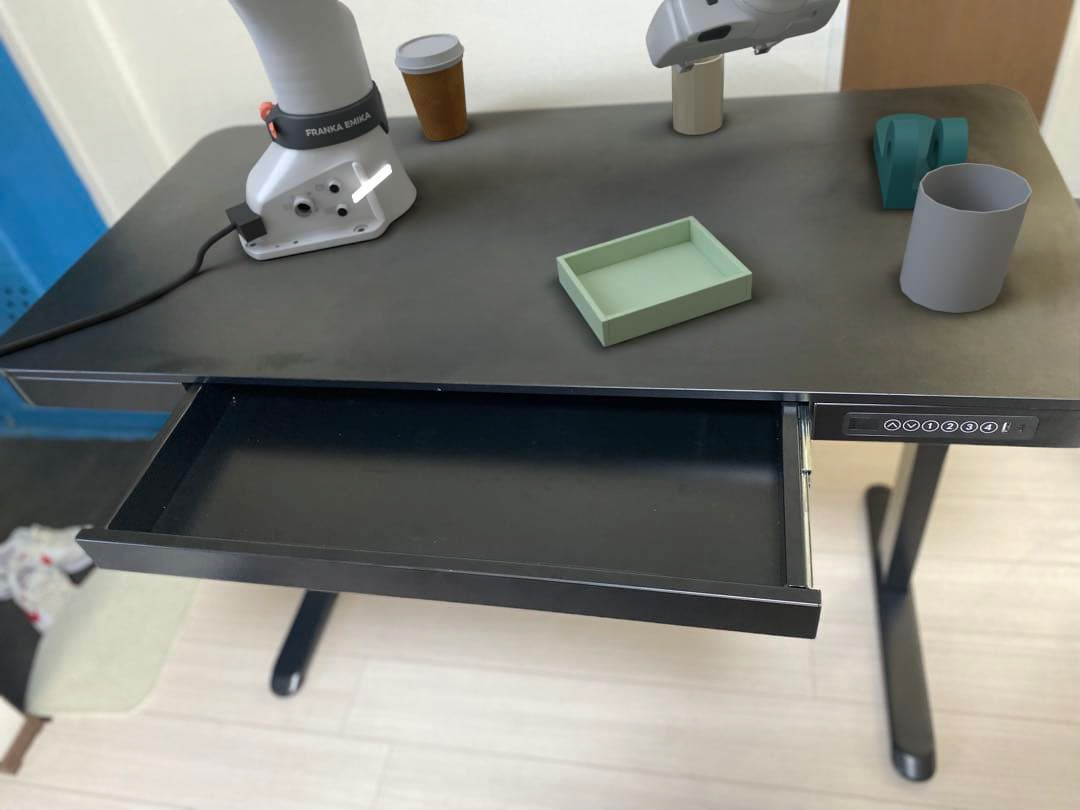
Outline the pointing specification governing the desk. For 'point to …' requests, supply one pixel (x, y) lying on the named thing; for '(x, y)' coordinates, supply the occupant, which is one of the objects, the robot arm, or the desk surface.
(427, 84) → the disposable coffee cup
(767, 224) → the desk surface
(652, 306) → the tray
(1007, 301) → the desk surface
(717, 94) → the tumbler
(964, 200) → the cup
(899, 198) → the bracket
